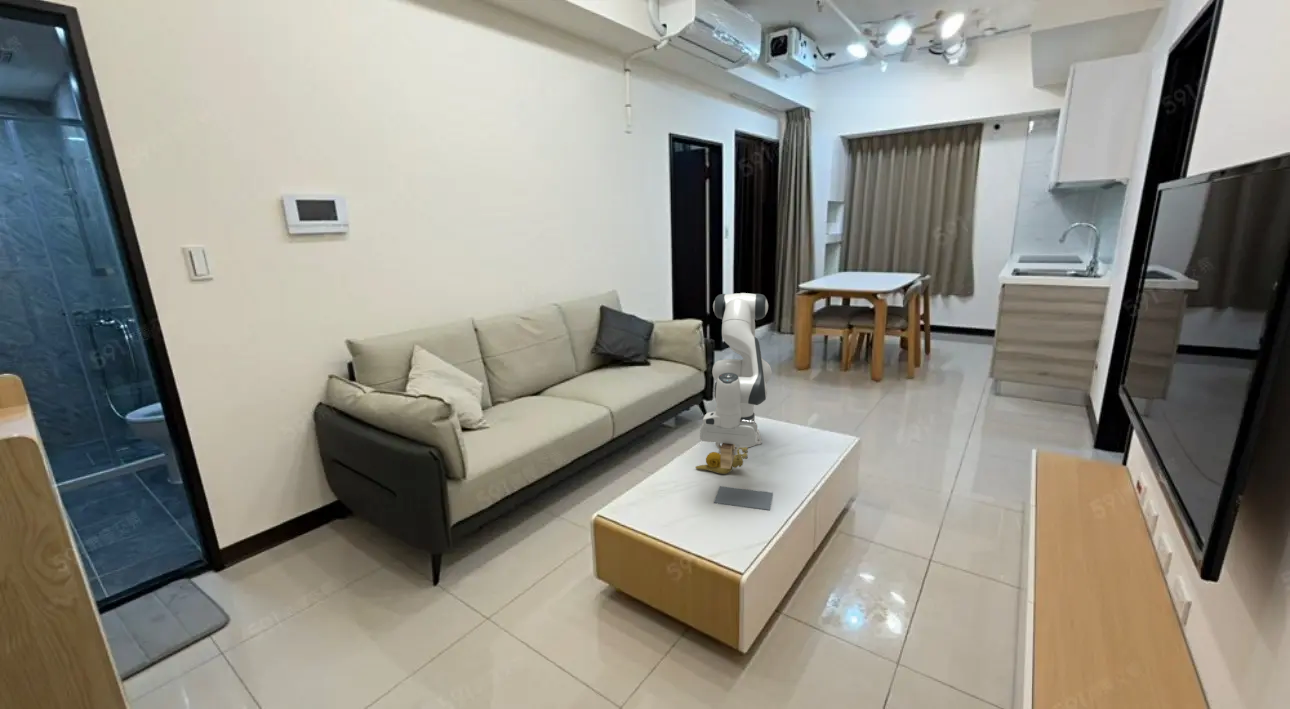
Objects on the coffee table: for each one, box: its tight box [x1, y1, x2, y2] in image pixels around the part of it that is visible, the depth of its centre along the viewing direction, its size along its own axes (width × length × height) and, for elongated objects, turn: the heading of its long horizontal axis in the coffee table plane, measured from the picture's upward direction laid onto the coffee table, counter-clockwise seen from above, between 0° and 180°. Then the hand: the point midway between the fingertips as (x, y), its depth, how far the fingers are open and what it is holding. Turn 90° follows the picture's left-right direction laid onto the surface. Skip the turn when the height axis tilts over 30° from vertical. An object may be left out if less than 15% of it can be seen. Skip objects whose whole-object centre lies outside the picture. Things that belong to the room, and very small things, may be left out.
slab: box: [720, 443, 736, 469], centre depth 192 cm, size 10×4×8 cm, turn 162°
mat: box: [713, 485, 774, 511], centre depth 195 cm, size 12×20×1 cm, turn 72°
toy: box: [695, 447, 749, 475], centre depth 215 cm, size 8×21×10 cm, turn 78°
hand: (727, 453), depth 193 cm, fingers closed on slab, 3 cm apart
